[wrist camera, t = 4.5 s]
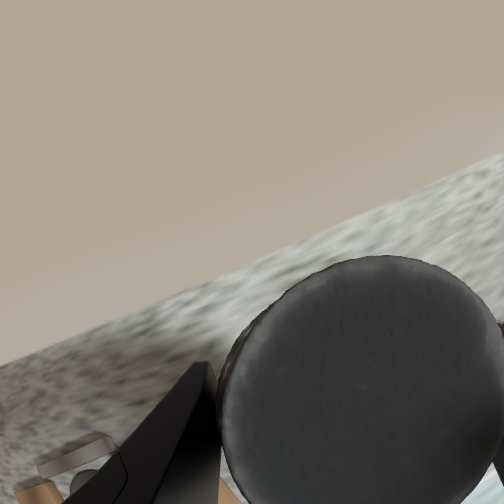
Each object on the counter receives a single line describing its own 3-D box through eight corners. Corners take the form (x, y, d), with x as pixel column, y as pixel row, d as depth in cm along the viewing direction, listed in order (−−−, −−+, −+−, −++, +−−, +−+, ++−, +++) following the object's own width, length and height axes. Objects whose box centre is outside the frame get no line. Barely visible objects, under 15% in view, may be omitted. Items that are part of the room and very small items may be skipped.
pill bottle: (390, 360, 13) (557, 290, 4) (339, 469, 11) (444, 588, 1) (280, 314, 15) (283, 162, 5) (225, 422, 13) (104, 489, 3)
